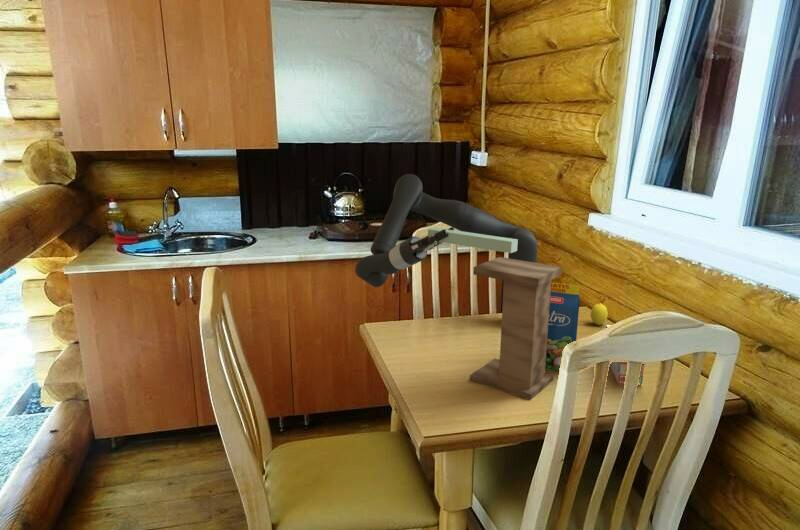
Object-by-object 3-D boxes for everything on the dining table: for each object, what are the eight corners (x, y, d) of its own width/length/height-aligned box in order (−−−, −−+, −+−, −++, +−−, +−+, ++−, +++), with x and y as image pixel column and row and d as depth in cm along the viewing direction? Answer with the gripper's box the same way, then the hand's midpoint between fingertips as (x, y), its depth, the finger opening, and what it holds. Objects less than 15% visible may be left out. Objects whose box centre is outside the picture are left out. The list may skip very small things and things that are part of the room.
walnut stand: (494, 363, 164) (499, 256, 156) (553, 380, 154) (561, 267, 146) (469, 380, 154) (473, 266, 146) (530, 399, 143) (538, 278, 135)
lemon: (608, 328, 192) (611, 305, 190) (592, 328, 192) (594, 305, 190) (603, 322, 197) (605, 300, 195) (587, 322, 198) (589, 300, 196)
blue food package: (571, 374, 157) (578, 288, 151) (528, 366, 162) (533, 283, 156) (574, 365, 163) (581, 282, 157) (532, 358, 168) (537, 277, 161)
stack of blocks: (603, 353, 172) (606, 315, 169) (624, 354, 171) (628, 316, 168) (618, 384, 152) (622, 342, 148) (642, 386, 151) (647, 343, 148)
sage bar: (434, 237, 162) (434, 227, 161) (517, 250, 147) (517, 239, 146) (427, 239, 159) (427, 229, 159) (510, 253, 144) (511, 241, 143)
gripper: (387, 246, 162) (430, 222, 151) (416, 238, 173) (458, 215, 162) (397, 270, 162) (442, 248, 150) (426, 260, 172) (469, 239, 161)
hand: (450, 231), depth 156 cm, fingers closed on sage bar, 3 cm apart
